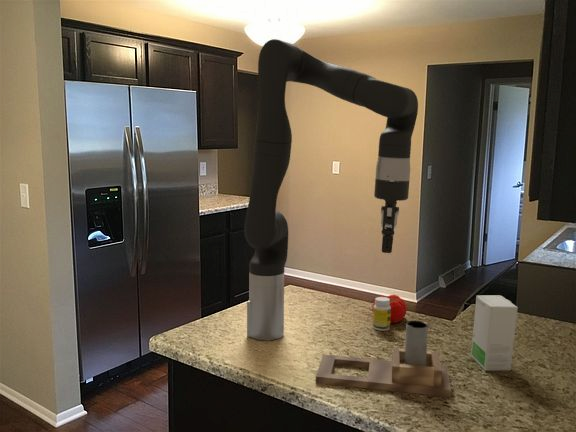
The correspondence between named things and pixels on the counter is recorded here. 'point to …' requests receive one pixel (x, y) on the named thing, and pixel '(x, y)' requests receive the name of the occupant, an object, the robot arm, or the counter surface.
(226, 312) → the counter surface
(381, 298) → the supplement bottle
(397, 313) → the tomato
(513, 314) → the skincare box
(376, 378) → the socket board
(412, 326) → the grey hollow tube
